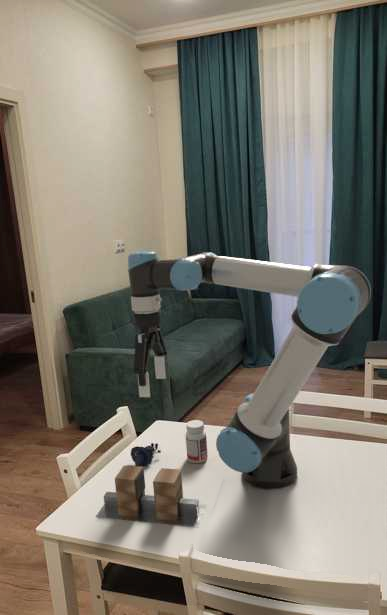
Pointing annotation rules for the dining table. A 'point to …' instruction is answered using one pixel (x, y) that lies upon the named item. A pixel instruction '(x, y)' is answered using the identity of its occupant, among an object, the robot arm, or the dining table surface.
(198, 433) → the pill bottle
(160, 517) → the walnut finger
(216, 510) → the dining table surface
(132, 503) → the wooden block
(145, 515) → the rail
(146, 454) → the toy
